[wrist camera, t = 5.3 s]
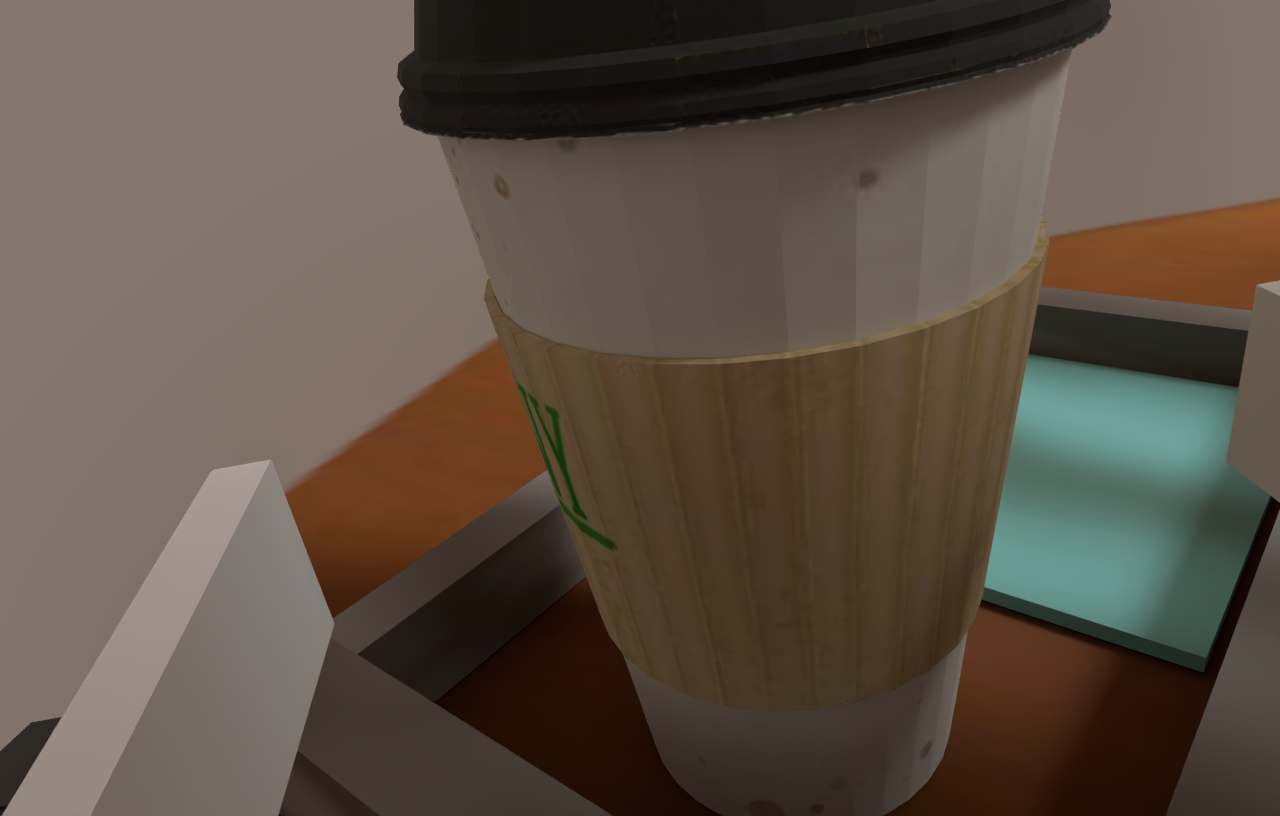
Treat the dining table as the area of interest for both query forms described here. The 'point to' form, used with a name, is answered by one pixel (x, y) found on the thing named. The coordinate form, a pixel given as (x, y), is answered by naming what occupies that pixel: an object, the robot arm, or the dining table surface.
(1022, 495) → the bay
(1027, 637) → the dining table surface
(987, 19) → the coffee cup
